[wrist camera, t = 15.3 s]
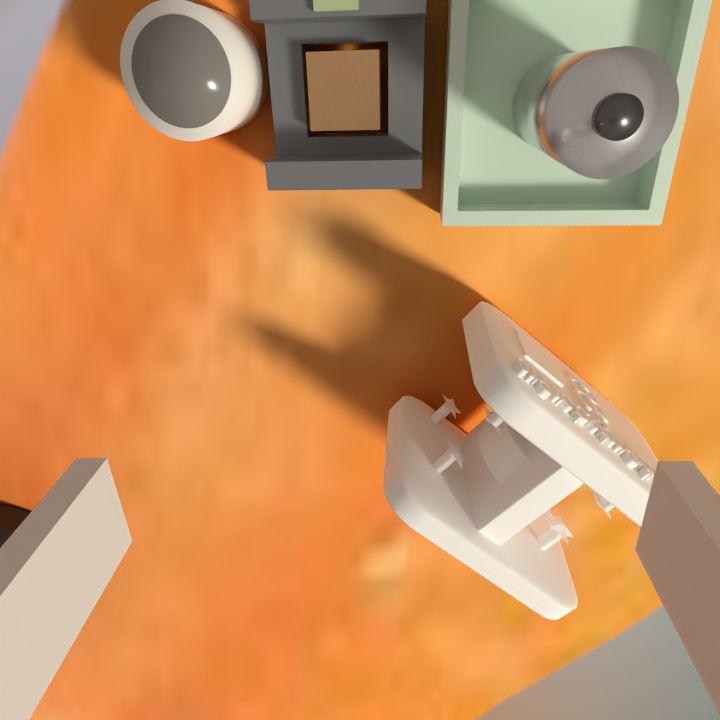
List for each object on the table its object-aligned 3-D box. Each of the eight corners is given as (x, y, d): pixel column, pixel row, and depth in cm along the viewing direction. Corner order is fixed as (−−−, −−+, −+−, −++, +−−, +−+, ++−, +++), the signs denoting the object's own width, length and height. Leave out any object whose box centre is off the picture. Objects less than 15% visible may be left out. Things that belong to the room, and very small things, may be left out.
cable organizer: (378, 389, 39) (365, 502, 29) (483, 282, 35) (512, 369, 24) (527, 499, 42) (563, 635, 32) (640, 414, 38) (723, 539, 28)
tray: (439, 213, 33) (442, 226, 30) (449, -19, 28) (453, -29, 25) (640, 212, 32) (661, 225, 29) (691, -30, 26) (721, -42, 24)
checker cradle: (286, 175, 33) (265, 191, 28) (270, -5, 29) (244, -19, 24) (420, 174, 32) (421, 190, 28) (425, -11, 28) (427, -27, 23)
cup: (173, 132, 32) (134, 142, 28) (152, 12, 29) (105, 1, 25) (273, 130, 32) (250, 140, 27) (262, 7, 29) (234, -5, 24)
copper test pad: (313, 129, 29) (310, 131, 28) (309, 52, 28) (305, 51, 27) (380, 128, 29) (379, 129, 28) (380, 50, 27) (378, 49, 26)
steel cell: (508, 151, 30) (547, 183, 21) (517, 55, 28) (565, 46, 19) (594, 150, 30) (671, 182, 21) (611, 52, 28) (703, 42, 19)
